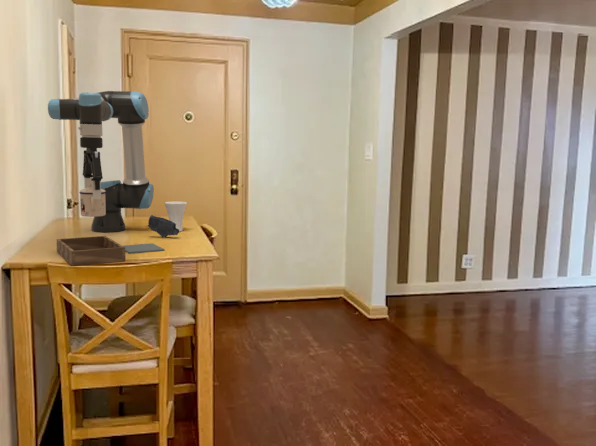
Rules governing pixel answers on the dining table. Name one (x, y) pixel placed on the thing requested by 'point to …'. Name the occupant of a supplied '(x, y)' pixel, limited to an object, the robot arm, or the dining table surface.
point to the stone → (162, 226)
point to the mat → (142, 248)
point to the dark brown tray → (90, 250)
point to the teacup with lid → (92, 203)
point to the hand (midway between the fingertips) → (92, 197)
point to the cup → (176, 212)
